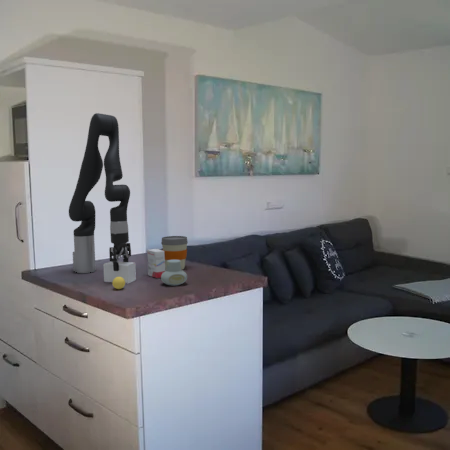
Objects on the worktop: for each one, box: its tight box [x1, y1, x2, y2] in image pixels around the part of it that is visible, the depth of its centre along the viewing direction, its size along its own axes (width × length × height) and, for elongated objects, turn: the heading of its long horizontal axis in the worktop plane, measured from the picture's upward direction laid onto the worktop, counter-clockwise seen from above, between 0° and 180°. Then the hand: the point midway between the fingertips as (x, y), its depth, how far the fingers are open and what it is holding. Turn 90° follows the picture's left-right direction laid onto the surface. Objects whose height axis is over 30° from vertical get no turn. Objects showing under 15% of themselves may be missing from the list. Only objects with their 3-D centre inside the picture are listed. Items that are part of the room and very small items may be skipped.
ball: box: [111, 277, 126, 290], centre depth 204 cm, size 5×5×5 cm
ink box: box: [146, 248, 166, 279], centre depth 227 cm, size 9×5×12 cm, turn 33°
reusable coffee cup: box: [160, 235, 188, 271], centre depth 243 cm, size 13×12×15 cm
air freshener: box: [160, 260, 188, 287], centre depth 211 cm, size 11×8×10 cm
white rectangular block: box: [103, 261, 137, 284], centre depth 218 cm, size 12×7×8 cm, turn 72°
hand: (121, 269), depth 218 cm, fingers open, 8 cm apart
